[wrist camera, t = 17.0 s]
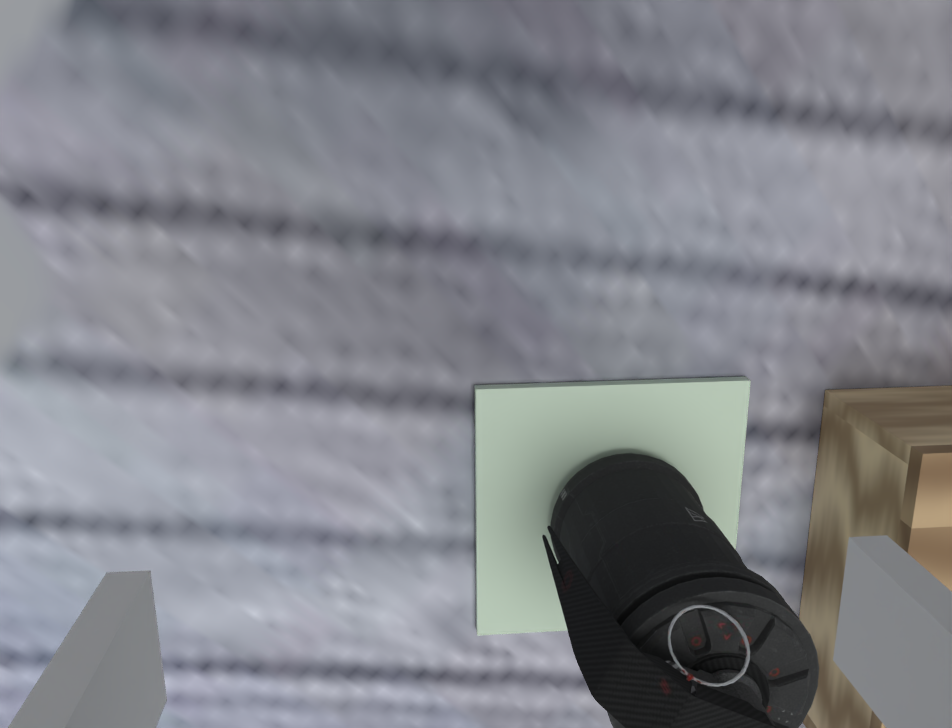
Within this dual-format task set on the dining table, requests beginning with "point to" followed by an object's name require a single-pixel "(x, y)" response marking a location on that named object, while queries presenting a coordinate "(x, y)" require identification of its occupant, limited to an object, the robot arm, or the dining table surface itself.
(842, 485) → the crate
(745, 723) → the black shaker bottle
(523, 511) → the board
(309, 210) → the dining table surface
